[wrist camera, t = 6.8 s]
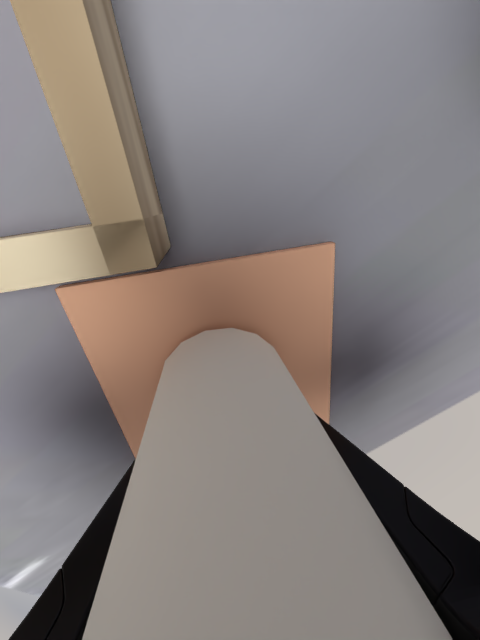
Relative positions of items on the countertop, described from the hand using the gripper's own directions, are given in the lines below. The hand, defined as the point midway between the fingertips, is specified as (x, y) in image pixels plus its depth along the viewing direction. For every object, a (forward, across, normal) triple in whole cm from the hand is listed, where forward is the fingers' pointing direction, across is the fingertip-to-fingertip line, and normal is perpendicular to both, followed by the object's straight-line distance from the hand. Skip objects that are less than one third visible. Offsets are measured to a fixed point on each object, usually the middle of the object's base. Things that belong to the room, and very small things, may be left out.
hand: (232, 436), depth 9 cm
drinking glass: (+3, 0, 0) cm, 3 cm away
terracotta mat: (+4, 0, 0) cm, 4 cm away
